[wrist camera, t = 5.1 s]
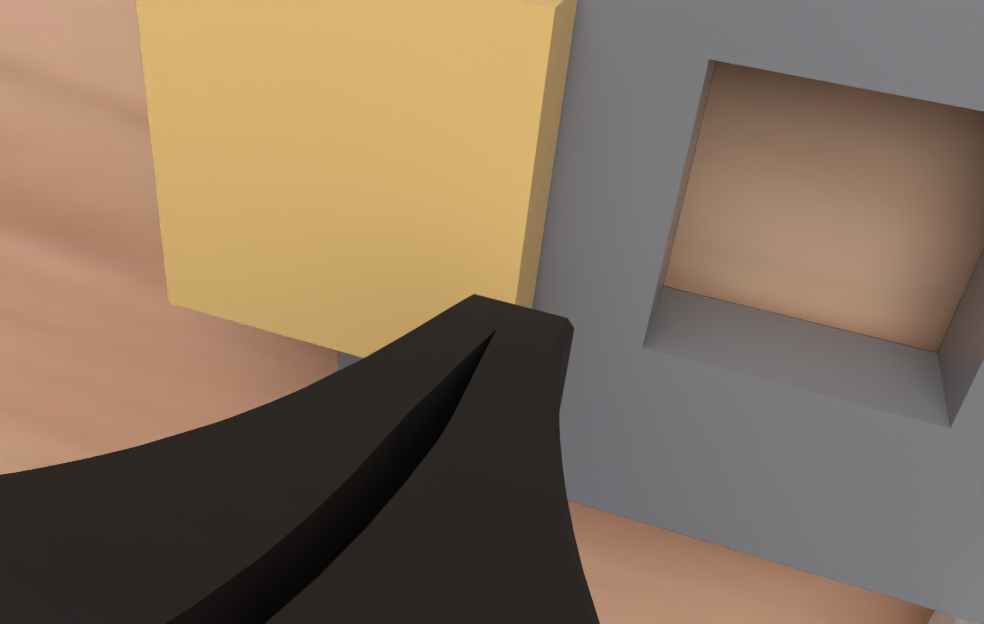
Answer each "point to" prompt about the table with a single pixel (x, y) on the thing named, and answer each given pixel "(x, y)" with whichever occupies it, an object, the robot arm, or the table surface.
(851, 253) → the table surface
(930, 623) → the plug
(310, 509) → the robot arm
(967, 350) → the socket plate
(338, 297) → the yellow flat square block
